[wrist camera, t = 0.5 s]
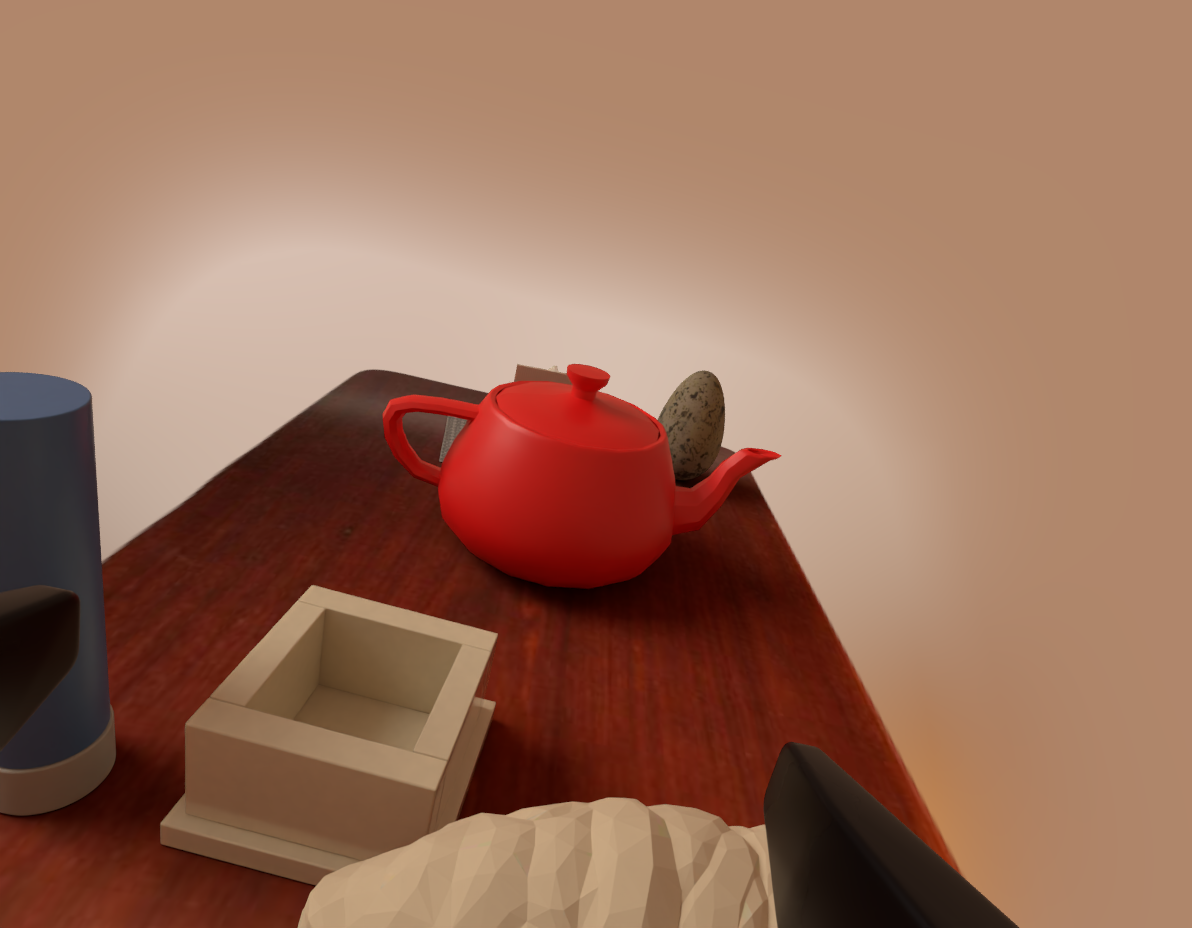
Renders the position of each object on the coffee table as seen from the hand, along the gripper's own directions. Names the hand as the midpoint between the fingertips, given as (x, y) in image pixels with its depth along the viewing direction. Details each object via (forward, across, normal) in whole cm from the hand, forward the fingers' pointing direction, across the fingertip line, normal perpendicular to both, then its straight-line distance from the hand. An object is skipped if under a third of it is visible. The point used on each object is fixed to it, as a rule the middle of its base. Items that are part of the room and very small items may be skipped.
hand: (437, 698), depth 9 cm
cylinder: (+12, +14, +15) cm, 24 cm away
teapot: (+35, -2, +13) cm, 37 cm away
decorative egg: (+51, -12, +11) cm, 54 cm away
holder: (+15, +4, +15) cm, 21 cm away
